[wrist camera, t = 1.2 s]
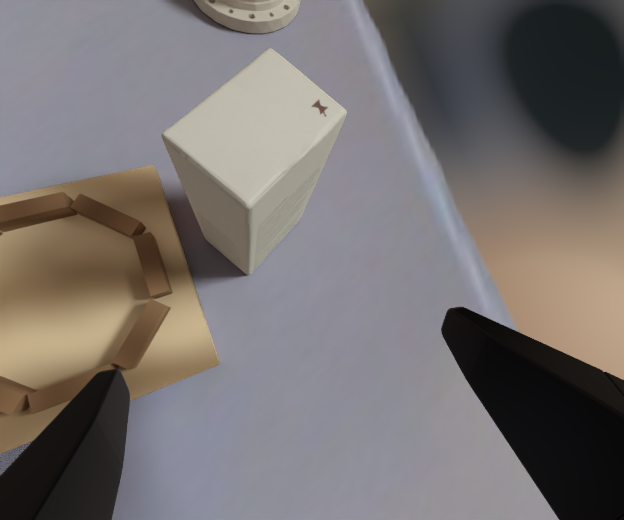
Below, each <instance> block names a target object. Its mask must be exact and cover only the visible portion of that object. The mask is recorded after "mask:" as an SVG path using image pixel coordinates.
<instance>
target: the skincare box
mask: <svg viewBox="0 0 624 520" xmlns="http://www.w3.org/2000/svg"><path fill="white" fill-rule="evenodd" d="M346 114H347V111H346V109H344V108H343V107H342V106H341V105H340V104H338V103H337V102H336V101H335V100H333V99H332V98H331V97H330V96H329V95H327V94H326V93H325V92H324V91H322V90H321V89H320V88H319V87H318V86H316V85H315V84H314V83H313V82H312V81H311V80H309V79H308V78H307V77H306V76H305V75H304V74H302V73H301V72H300V71H299V70H298V69H296V68H295V67H294V66H293V65H292V64H290V63H289V62H288V61H287V60H286V59H284V58H283V57H282V56H281V55H279V54H278V53H277V52H275V51H274V50H273V49H271V48H269V49H267V50H266V51H265V52H263V53H262V54H261V55H260V56H258V57H257V58H256V59H255V60H253V61H252V62H251V63H250V64H248V65H247V66H246V67H244V68H243V69H242V70H241V71H239V72H238V73H237V74H236V75H235V76H233V77H232V78H231V79H230V80H228V81H227V82H226V83H225V84H223V85H222V86H221V87H220V88H218V89H217V90H216V91H215V92H214V93H212V94H211V95H210V96H209V97H207V98H206V99H205V100H204V101H202V102H201V103H200V104H199V105H197V106H196V107H195V108H193V109H192V110H191V111H190V112H188V113H187V114H186V115H185V116H183V117H182V118H181V119H180V120H178V121H177V122H176V123H174V124H173V125H172V126H171V127H169V128H168V129H167V130H165V131H164V132H163V133H162V139H163V141H164V143H165V146H166V148H167V151H168V153H169V155H170V158H171V160H172V162H173V165H174V167H175V169H176V172H177V174H178V177H179V179H180V181H181V184H182V186H183V188H184V191H185V193H186V195H187V197H188V200H189V202H190V205H191V207H192V209H193V212H194V214H195V216H196V219H197V221H198V224H199V226H200V228H201V231H202V233H203V235H204V238H205V239H206V240H207V241H208V242H209V243H210V244H212V245H213V246H214V247H215V248H216V249H217V250H218V251H220V252H221V253H222V254H223V255H224V256H225V257H226V258H228V259H229V260H230V261H231V262H232V263H233V264H235V265H236V266H237V267H238V268H239V269H240V270H242V271H243V272H244V273H245V274H247V275H250V274H251V273H252V272H253V271H254V269H255V268H256V267H257V266H258V265H259V264H260V263H261V262H262V261H263V260H264V259H265V257H266V256H267V255H268V254H269V253H270V252H271V251H272V250H273V249H274V248H275V247H276V245H277V244H278V243H279V242H280V241H281V240H282V239H283V238H284V237H285V236H286V234H287V233H288V232H289V231H290V230H291V229H292V228H293V227H294V226H295V224H296V223H297V222H298V221H299V220H300V219H301V216H302V214H303V212H304V210H305V208H306V205H307V203H308V201H309V199H310V196H311V194H312V191H313V189H314V187H315V185H316V183H317V180H318V178H319V176H320V174H321V172H322V169H323V167H324V165H325V162H326V160H327V158H328V156H329V153H330V151H331V149H332V147H333V145H334V143H335V141H336V138H337V136H338V134H339V132H340V129H341V127H342V124H343V122H344V119H345V117H346Z"/></svg>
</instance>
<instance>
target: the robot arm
mask: <svg viewBox="0 0 624 520" xmlns="http://www.w3.org/2000/svg"><path fill="white" fill-rule="evenodd" d="M441 331H442V335H443V338H444V339H445V341H446V343H447V345H448V347H449V349H450V351H451V352H452V354H453V356H454V358H455V360H456V362H457V364H458V365H459V367H460V369H461V371H462V373H463V375H464V376H465V378H466V380H467V381H468V383H469V385H470V386H471V388H472V389H473V391H474V392H475V394H476V395H477V397H478V398H479V400H480V401H481V403H482V404H483V406H484V407H485V409H486V410H487V412H488V413H489V415H490V416H491V418H492V419H493V421H494V422H495V424H496V425H497V427H498V428H499V430H500V431H501V433H502V434H503V436H504V437H505V439H506V440H507V442H508V443H509V445H510V446H511V448H512V449H513V451H514V452H515V454H516V455H517V457H518V458H519V460H520V461H521V463H522V464H523V466H524V467H525V469H526V470H527V472H528V473H529V475H530V476H531V478H532V480H533V481H534V483H535V484H536V486H537V487H538V489H539V490H540V492H541V493H542V495H543V496H544V498H545V499H546V501H547V502H548V504H549V505H550V507H551V508H552V510H553V511H554V513H555V514H556V516H557V517H558V519H559V520H624V380H622V379H620V378H618V377H615V376H614V375H611V374H609V373H607V372H603V371H602V370H600V369H598V368H596V367H593V366H591V365H589V364H587V363H585V362H582V361H580V360H578V359H576V358H574V357H572V356H570V355H567V354H565V353H563V352H561V351H558V350H556V349H554V348H552V347H550V346H548V345H545V344H543V343H541V342H539V341H537V340H534V339H532V338H530V337H528V336H526V335H523V334H521V333H519V332H517V331H515V330H512V329H510V328H508V327H506V326H504V325H501V324H499V323H497V322H495V321H493V320H491V319H488V318H486V317H484V316H482V315H480V314H477V313H475V312H473V311H471V310H469V309H466V308H464V307H455V308H450V309H449V310H448V311H447V313H446V316H445V319H444V322H443V325H442V328H441ZM129 404H130V392H129V389H128V387H127V384H126V382H125V380H124V377H123V375H122V373H121V371H120V370H119V369H116V368H115V369H110V370H104V371H100V372H98V373H97V374H95V375H94V376H93V378H92V379H91V380H90V381H89V382H88V383H87V384H86V385H85V386H84V387H83V388H82V389H81V390H80V391H79V392H78V394H77V395H76V396H75V397H74V398H73V399H72V400H71V401H70V402H69V403H68V404H67V405H66V406H65V407H64V408H63V410H62V411H61V412H60V413H59V414H58V415H57V416H56V417H55V418H54V419H53V420H52V421H51V422H50V423H49V424H48V426H47V427H46V428H45V429H44V430H43V431H42V432H41V433H40V434H39V435H38V436H37V437H36V438H35V439H34V440H33V442H32V443H31V444H30V445H29V446H28V447H27V448H26V449H25V450H24V451H23V452H22V453H21V454H20V455H19V457H18V458H17V459H16V460H15V461H14V462H13V463H12V464H11V465H10V466H9V467H8V468H7V469H6V470H5V471H4V473H3V474H2V475H1V476H0V520H112V515H113V510H114V506H115V501H116V497H117V492H118V487H119V483H120V478H121V473H122V468H123V461H124V452H125V442H126V433H127V423H128V413H129Z"/></svg>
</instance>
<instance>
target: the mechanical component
mask: <svg viewBox="0 0 624 520" xmlns="http://www.w3.org/2000/svg"><path fill="white" fill-rule="evenodd" d="M194 2H195V3H196V4H197V5H198V7H199V8H200V9H201V11H202V12H204V13H205V14H206V15H208V16H209V17H210V18H212V19H213V20H214V21H215V22H217V23H220V24H222V25H224V26H226V27H228V28H230V29H232V30H237V31H242V32H246V33H268V32H274V31H276V30H278V29H281V28H283V27H285V26H286V25H287V24H289V23H290V22H291V21H292V20H293V19H294V18H295V16H296V15H297V13H298V10H299V5H300V0H194Z"/></svg>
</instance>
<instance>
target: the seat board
mask: <svg viewBox="0 0 624 520" xmlns="http://www.w3.org/2000/svg"><path fill="white" fill-rule="evenodd" d="M219 364H220V362H219V359H218V355H217V352H216V349H215V346H214V343H213V340H212V337H211V334H210V331H209V328H208V325H207V322H206V319H205V316H204V313H203V310H202V307H201V304H200V301H199V297H198V294H197V291H196V288H195V285H194V282H193V279H192V276H191V273H190V270H189V267H188V264H187V261H186V258H185V255H184V252H183V249H182V246H181V243H180V239H179V236H178V233H177V230H176V227H175V224H174V221H173V218H172V215H171V212H170V209H169V206H168V203H167V200H166V197H165V194H164V191H163V188H162V185H161V181H160V178H159V175H158V173H157V171H156V169H155V167H154V165H150V166H145V167H140V168H136V169H131V170H126V171H122V172H117V173H112V174H108V175H103V176H98V177H94V178H89V179H84V180H80V181H75V182H70V183H65V184H61V185H56V186H51V187H47V188H42V189H37V190H33V191H28V192H23V193H19V194H14V195H9V196H5V197H0V454H2V453H4V452H7V451H9V450H12V449H14V448H16V447H19V446H21V445H24V444H26V443H29V442H31V441H33V440H34V439H35V438H36V437H37V436H38V435H39V434H40V433H41V432H42V431H43V430H44V429H45V428H46V427H47V426H48V424H49V423H50V422H51V421H52V420H53V419H54V418H55V417H56V416H57V415H58V414H59V413H60V412H61V411H62V410H63V408H64V407H65V406H66V405H67V404H68V403H69V402H70V401H71V400H72V399H73V398H74V397H75V396H76V395H77V394H78V392H79V391H80V390H81V389H82V388H83V387H84V386H85V385H86V384H87V383H88V382H89V381H90V380H91V379H92V378H93V376H94V375H95V374H97V373H98V372H100V371H104V370H110V369H115V368H116V369H119V370H120V371H121V373H122V375H123V377H124V380H125V382H126V384H127V387H128V389H129V392H130V401H131V400H133V399H136V398H138V397H141V396H143V395H146V394H148V393H151V392H153V391H155V390H158V389H160V388H163V387H165V386H168V385H170V384H172V383H175V382H177V381H180V380H182V379H185V378H187V377H190V376H192V375H194V374H197V373H199V372H202V371H204V370H207V369H209V368H211V367H214V366H216V365H219Z"/></svg>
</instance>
